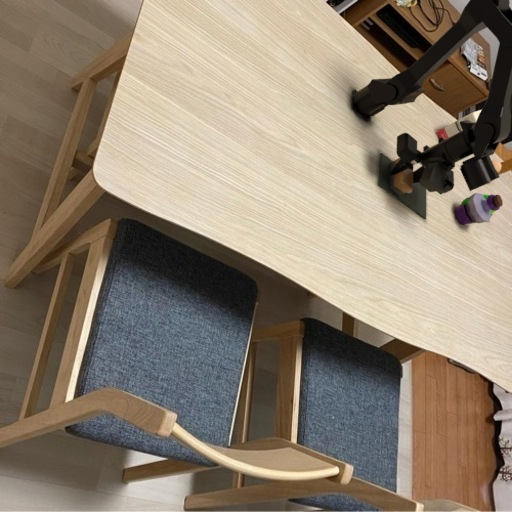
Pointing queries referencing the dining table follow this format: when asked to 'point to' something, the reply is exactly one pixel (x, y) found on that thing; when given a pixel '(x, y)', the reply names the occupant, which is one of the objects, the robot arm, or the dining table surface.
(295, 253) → the dining table surface
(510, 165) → the supplement box
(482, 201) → the potion bottle
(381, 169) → the chalkboard
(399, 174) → the brown rectangular block
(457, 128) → the ink box
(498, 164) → the egg
